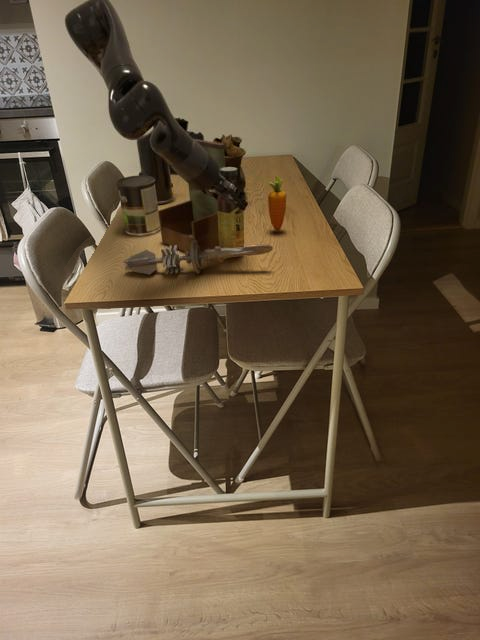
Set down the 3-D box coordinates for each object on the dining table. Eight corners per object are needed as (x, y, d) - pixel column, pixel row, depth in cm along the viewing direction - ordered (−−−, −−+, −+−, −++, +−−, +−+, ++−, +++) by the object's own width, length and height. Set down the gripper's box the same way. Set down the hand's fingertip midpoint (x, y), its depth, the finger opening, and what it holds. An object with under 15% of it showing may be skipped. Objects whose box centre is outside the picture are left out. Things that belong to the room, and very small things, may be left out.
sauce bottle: (241, 256, 114) (239, 173, 104) (216, 255, 115) (211, 172, 105) (246, 245, 119) (244, 165, 109) (222, 244, 121) (218, 165, 110)
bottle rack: (162, 243, 127) (149, 146, 114) (195, 230, 134) (187, 137, 121) (196, 257, 118) (186, 153, 105) (230, 242, 125) (224, 144, 112)
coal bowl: (197, 160, 203) (193, 113, 194) (214, 170, 188) (210, 119, 178) (152, 166, 197) (145, 118, 187) (165, 178, 181) (159, 126, 171)
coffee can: (129, 238, 130) (120, 188, 123) (122, 226, 139) (113, 178, 131) (165, 231, 134) (158, 182, 126) (156, 220, 142) (149, 173, 134)
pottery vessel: (214, 186, 169) (209, 127, 159) (244, 185, 169) (242, 126, 159) (214, 209, 148) (209, 143, 137) (248, 207, 148) (246, 141, 138)
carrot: (281, 236, 127) (281, 180, 119) (265, 233, 129) (264, 178, 122) (289, 230, 131) (290, 175, 123) (273, 227, 133) (273, 173, 125)
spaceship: (271, 248, 101) (270, 222, 106) (115, 266, 106) (120, 240, 110) (275, 272, 108) (273, 247, 112) (128, 288, 112) (132, 263, 116)
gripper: (163, 173, 103) (207, 211, 117) (207, 184, 95) (249, 224, 108) (179, 143, 104) (221, 185, 117) (225, 152, 95) (265, 196, 108)
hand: (235, 204), depth 112 cm, fingers closed on sauce bottle, 6 cm apart
